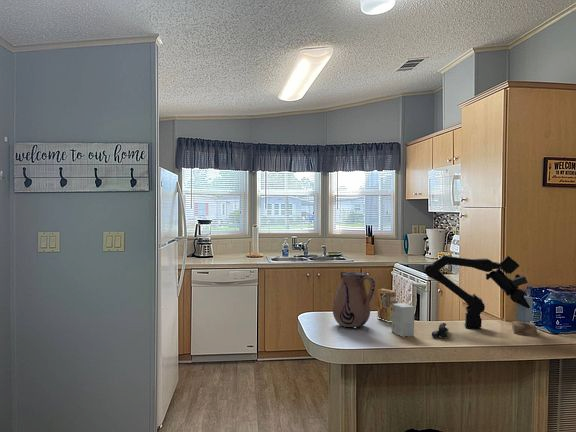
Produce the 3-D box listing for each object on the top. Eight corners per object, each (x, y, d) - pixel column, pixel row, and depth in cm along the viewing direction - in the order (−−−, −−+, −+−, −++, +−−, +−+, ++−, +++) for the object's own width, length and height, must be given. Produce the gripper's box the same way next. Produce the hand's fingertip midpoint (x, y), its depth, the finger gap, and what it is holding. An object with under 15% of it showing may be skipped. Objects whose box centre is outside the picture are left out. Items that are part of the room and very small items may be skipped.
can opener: (447, 341, 190) (447, 328, 190) (430, 338, 193) (430, 325, 193) (452, 331, 206) (453, 319, 205) (436, 329, 209) (437, 317, 209)
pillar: (525, 322, 203) (526, 297, 203) (516, 319, 207) (517, 296, 207) (531, 321, 205) (532, 297, 205) (522, 318, 209) (523, 295, 209)
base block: (514, 334, 204) (514, 325, 204) (512, 329, 212) (512, 321, 212) (536, 336, 200) (536, 327, 200) (533, 331, 209) (533, 323, 209)
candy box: (396, 322, 220) (396, 291, 220) (389, 323, 218) (390, 291, 218) (382, 318, 228) (383, 288, 227) (376, 319, 225) (377, 288, 225)
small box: (414, 336, 196) (414, 306, 196) (401, 337, 194) (402, 307, 193) (403, 331, 203) (404, 302, 203) (391, 332, 201) (392, 303, 201)
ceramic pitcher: (343, 319, 223) (344, 269, 223) (383, 326, 211) (384, 273, 210) (325, 326, 209) (326, 273, 209) (366, 334, 197) (367, 277, 196)
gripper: (520, 271, 198) (547, 298, 195) (512, 267, 216) (537, 291, 213) (500, 288, 201) (526, 315, 197) (494, 282, 218) (518, 306, 215)
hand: (527, 306), depth 206 cm, fingers closed on pillar, 6 cm apart
